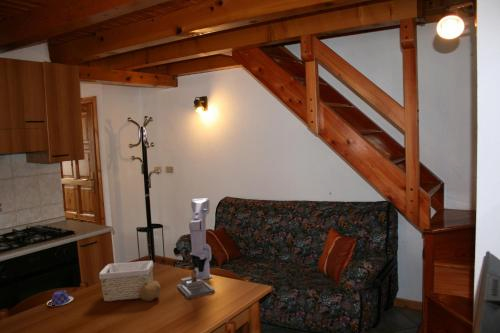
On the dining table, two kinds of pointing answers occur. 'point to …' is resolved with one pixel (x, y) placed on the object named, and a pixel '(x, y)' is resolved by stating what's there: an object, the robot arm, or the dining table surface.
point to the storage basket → (125, 279)
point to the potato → (150, 291)
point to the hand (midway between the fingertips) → (198, 269)
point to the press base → (194, 288)
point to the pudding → (60, 298)
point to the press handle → (194, 280)
